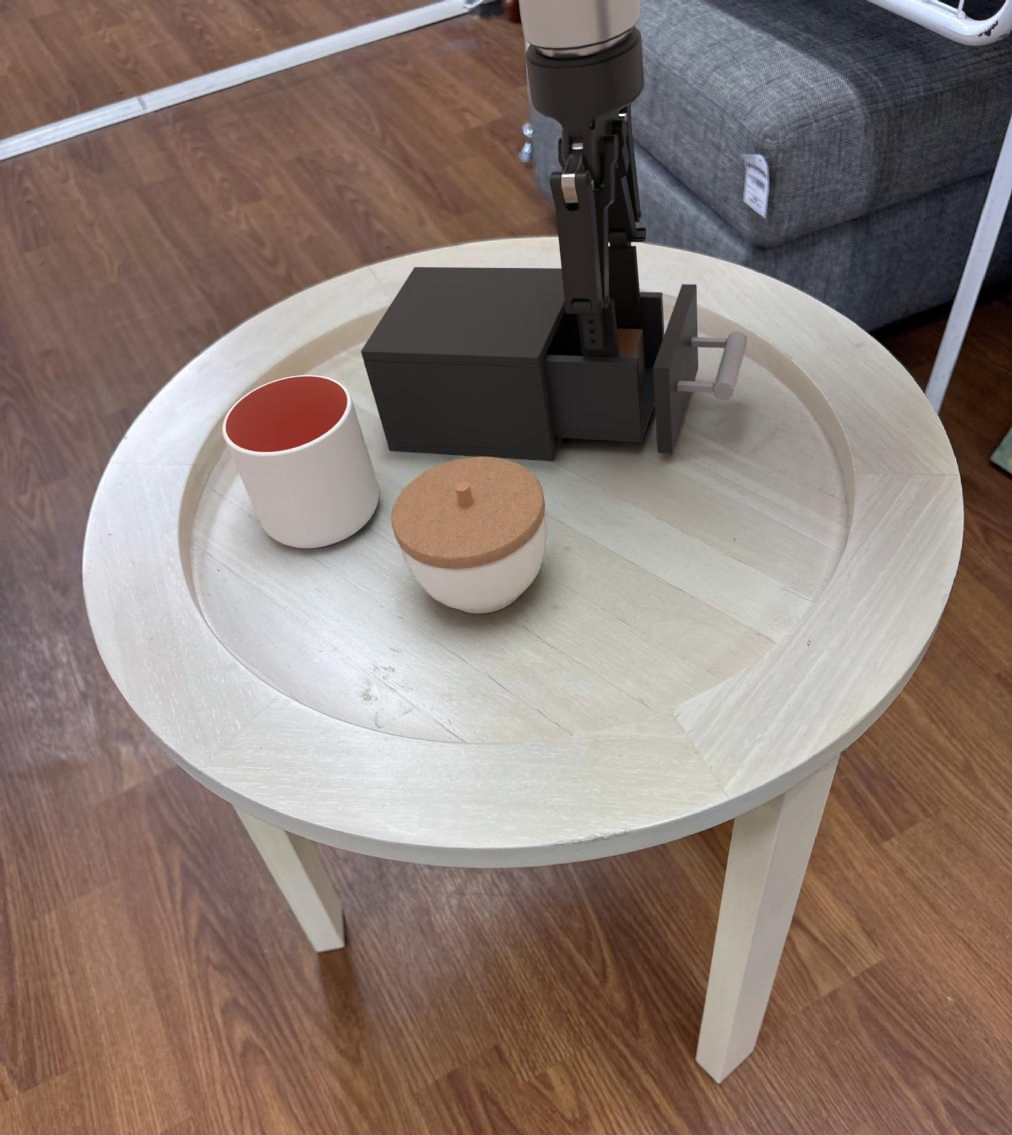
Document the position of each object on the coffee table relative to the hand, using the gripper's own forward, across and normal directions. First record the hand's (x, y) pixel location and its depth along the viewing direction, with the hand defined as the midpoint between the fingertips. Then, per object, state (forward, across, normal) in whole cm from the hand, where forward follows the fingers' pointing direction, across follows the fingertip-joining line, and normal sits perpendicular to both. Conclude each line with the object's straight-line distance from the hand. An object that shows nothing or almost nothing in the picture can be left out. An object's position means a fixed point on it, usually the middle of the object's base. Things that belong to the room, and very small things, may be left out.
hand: (614, 349), depth 85 cm
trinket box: (+7, +21, -6) cm, 23 cm away
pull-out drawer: (+5, 0, +1) cm, 6 cm away
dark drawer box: (+6, 0, -12) cm, 13 cm away
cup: (+6, +15, -22) cm, 27 cm away
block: (+4, 0, 0) cm, 4 cm away
